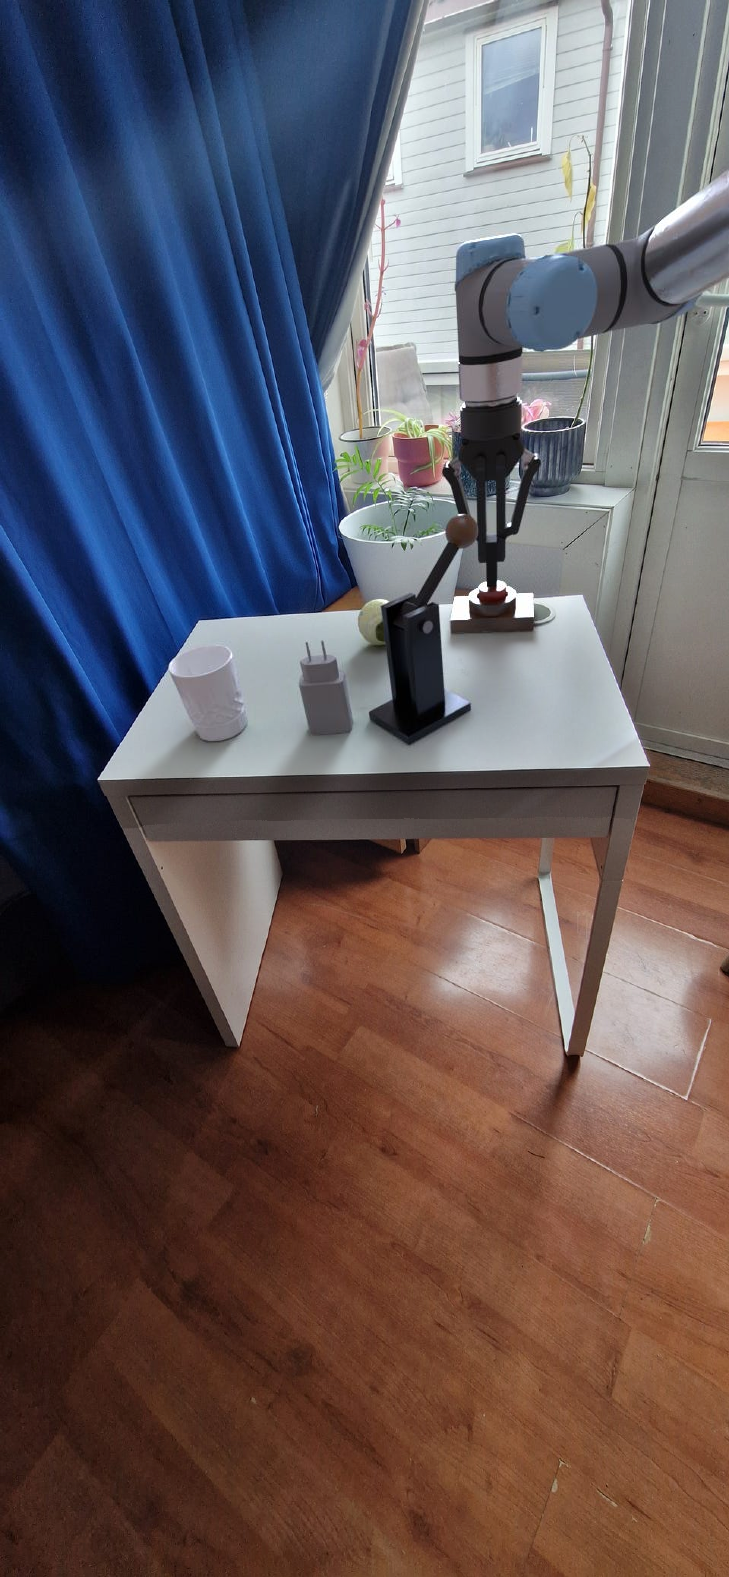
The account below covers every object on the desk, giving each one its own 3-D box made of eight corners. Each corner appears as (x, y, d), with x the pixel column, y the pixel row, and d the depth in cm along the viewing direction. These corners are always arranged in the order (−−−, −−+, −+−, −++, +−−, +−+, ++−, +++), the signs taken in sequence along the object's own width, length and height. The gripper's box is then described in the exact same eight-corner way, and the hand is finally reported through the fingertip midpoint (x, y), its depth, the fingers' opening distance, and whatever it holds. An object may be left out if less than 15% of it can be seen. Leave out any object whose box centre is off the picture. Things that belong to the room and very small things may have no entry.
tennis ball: (359, 636, 101) (353, 595, 96) (402, 629, 101) (398, 588, 96) (362, 655, 96) (356, 613, 92) (407, 649, 96) (403, 606, 91)
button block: (533, 606, 101) (533, 581, 98) (533, 630, 95) (534, 605, 92) (455, 609, 103) (453, 585, 101) (450, 633, 97) (449, 608, 95)
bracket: (429, 687, 87) (420, 580, 77) (471, 710, 81) (467, 598, 72) (369, 719, 83) (352, 610, 73) (409, 745, 77) (396, 631, 68)
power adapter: (312, 721, 84) (293, 637, 77) (353, 718, 83) (338, 633, 76) (308, 735, 82) (289, 649, 74) (351, 732, 81) (335, 645, 73)
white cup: (257, 708, 88) (238, 642, 82) (243, 743, 82) (222, 674, 76) (202, 712, 90) (179, 647, 83) (185, 746, 84) (159, 679, 77)
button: (506, 591, 98) (506, 579, 97) (505, 602, 95) (505, 591, 94) (479, 592, 99) (479, 581, 98) (478, 604, 96) (477, 592, 95)
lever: (467, 522, 74) (450, 504, 72) (490, 528, 72) (473, 510, 69) (403, 632, 76) (385, 619, 74) (423, 642, 74) (405, 628, 71)
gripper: (544, 387, 82) (537, 570, 97) (440, 399, 85) (449, 575, 100) (546, 400, 76) (538, 592, 91) (434, 412, 79) (445, 596, 94)
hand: (492, 583), depth 95 cm, fingers closed
